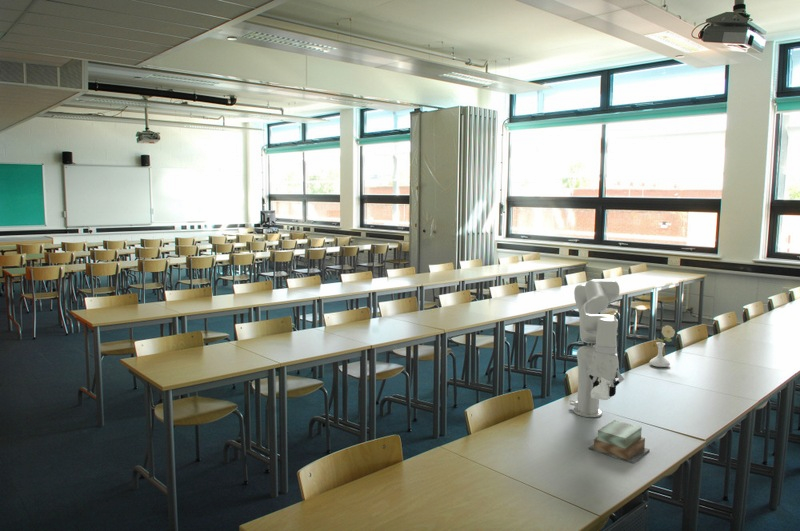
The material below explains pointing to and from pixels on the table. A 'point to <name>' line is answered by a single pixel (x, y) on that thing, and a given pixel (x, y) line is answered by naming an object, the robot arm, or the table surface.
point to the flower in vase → (659, 359)
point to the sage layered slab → (620, 441)
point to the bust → (602, 390)
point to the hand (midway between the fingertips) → (604, 393)
